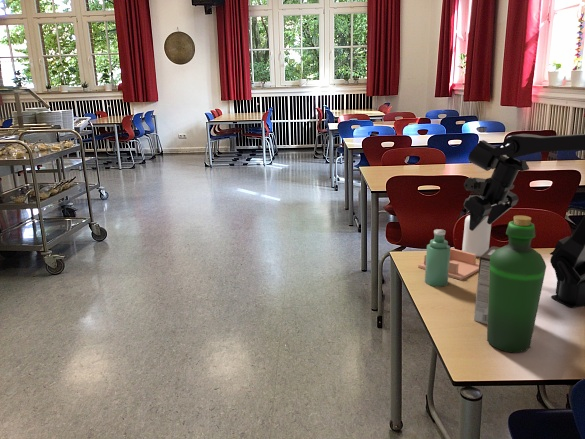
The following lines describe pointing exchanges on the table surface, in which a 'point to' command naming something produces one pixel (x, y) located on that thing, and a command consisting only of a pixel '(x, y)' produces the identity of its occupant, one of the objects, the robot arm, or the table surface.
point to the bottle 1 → (437, 260)
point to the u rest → (459, 264)
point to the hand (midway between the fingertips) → (480, 226)
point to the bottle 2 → (514, 288)
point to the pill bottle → (476, 237)
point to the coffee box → (483, 287)
